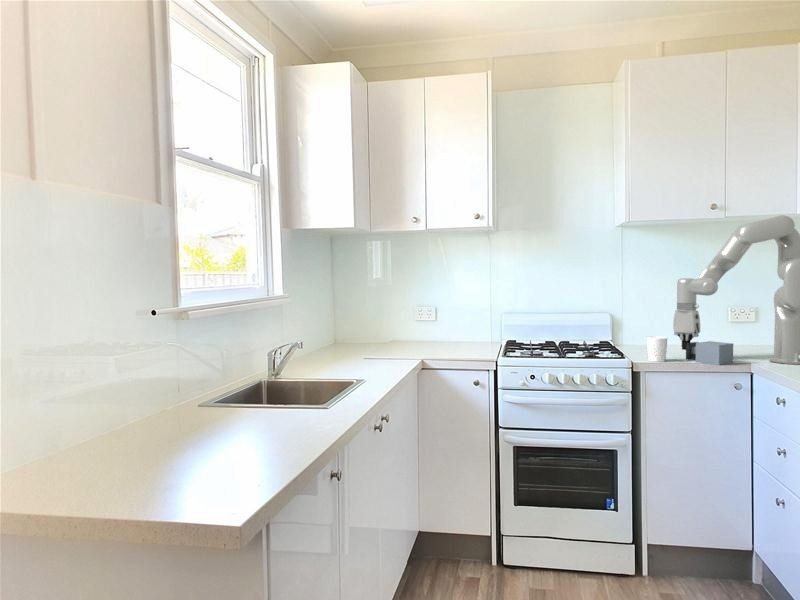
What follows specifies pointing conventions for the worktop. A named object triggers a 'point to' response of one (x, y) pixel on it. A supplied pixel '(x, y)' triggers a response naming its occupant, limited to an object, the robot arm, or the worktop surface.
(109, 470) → the worktop surface
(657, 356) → the white cup
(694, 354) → the plunger
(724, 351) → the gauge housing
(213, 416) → the worktop surface
